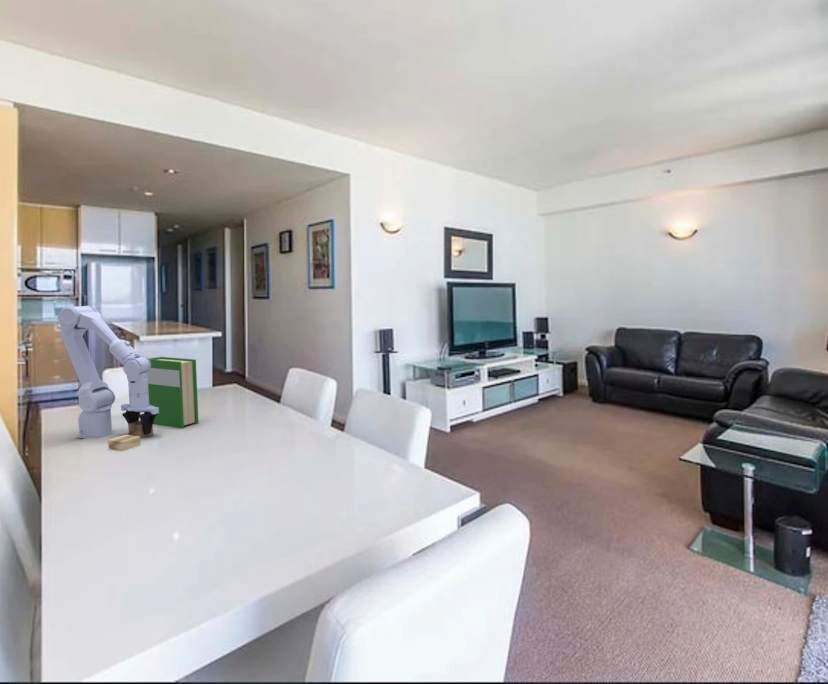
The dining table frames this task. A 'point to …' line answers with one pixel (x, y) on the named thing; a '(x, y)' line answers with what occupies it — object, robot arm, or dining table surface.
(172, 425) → the hardback book
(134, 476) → the dining table surface
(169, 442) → the dining table surface
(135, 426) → the walnut cube
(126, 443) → the oak block
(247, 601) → the dining table surface
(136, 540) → the dining table surface
